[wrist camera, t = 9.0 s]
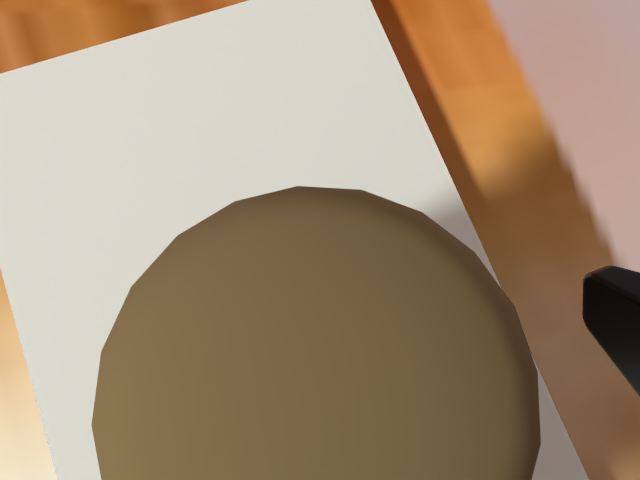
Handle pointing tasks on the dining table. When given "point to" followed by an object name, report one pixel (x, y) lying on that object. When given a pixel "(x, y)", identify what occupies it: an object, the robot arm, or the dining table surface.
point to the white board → (197, 173)
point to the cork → (316, 352)
